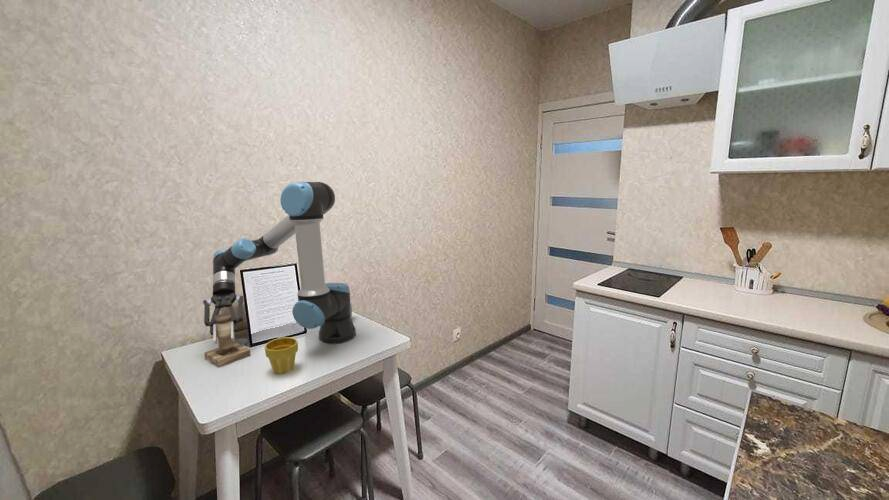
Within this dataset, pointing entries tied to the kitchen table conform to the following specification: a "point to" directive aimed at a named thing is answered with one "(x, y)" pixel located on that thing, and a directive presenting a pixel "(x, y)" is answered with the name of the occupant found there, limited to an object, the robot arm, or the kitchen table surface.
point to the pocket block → (220, 360)
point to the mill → (224, 330)
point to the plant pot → (282, 354)
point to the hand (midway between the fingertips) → (224, 340)
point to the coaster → (241, 341)
